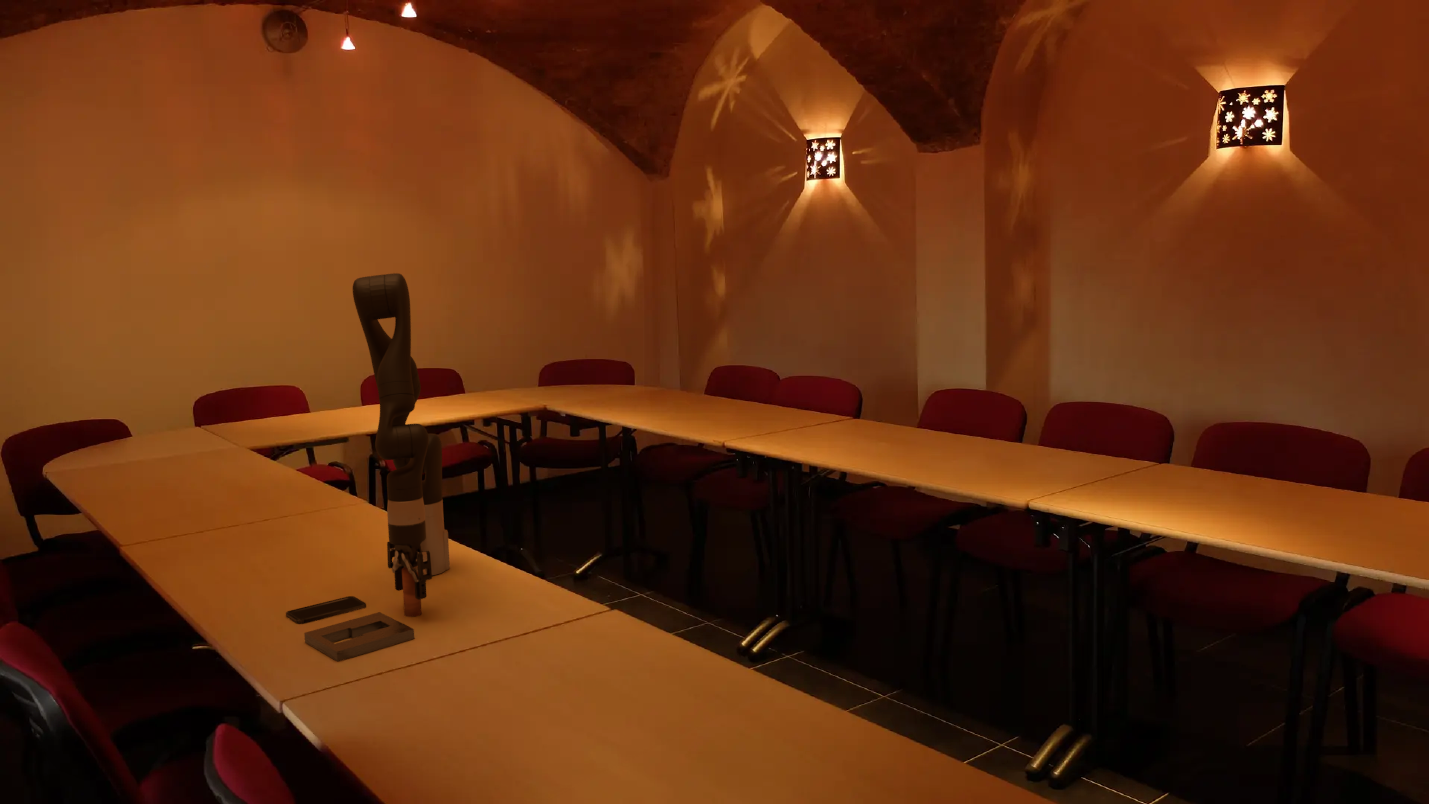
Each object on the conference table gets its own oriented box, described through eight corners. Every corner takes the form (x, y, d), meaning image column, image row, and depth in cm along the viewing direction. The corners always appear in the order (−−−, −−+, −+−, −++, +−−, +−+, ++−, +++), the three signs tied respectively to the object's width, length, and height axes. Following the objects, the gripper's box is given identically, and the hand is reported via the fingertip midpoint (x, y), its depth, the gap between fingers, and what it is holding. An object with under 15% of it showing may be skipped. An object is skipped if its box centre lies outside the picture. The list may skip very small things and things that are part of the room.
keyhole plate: (380, 621, 222) (379, 612, 222) (414, 638, 212) (413, 628, 212) (305, 642, 211) (304, 632, 210) (337, 661, 201) (336, 651, 201)
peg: (416, 609, 228) (413, 564, 227) (424, 613, 226) (422, 568, 224) (401, 613, 226) (398, 568, 224) (409, 618, 224) (407, 571, 222)
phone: (284, 612, 226) (352, 595, 236) (284, 617, 226) (352, 600, 236) (298, 621, 220) (367, 604, 230) (298, 626, 220) (368, 609, 230)
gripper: (440, 521, 220) (444, 597, 223) (406, 510, 230) (410, 582, 233) (407, 528, 215) (411, 606, 217) (373, 516, 225) (378, 590, 228)
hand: (410, 594), depth 225 cm, fingers open, 8 cm apart
